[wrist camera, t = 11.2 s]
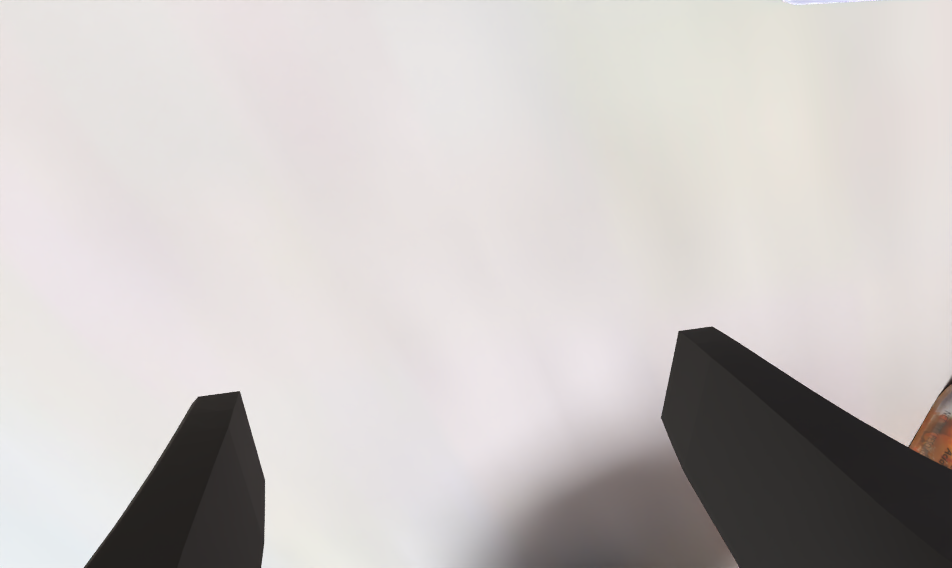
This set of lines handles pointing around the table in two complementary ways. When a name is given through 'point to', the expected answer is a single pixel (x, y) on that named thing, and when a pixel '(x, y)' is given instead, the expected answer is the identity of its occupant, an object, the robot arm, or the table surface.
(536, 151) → the table surface
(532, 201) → the table surface
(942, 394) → the tin
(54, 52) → the table surface
